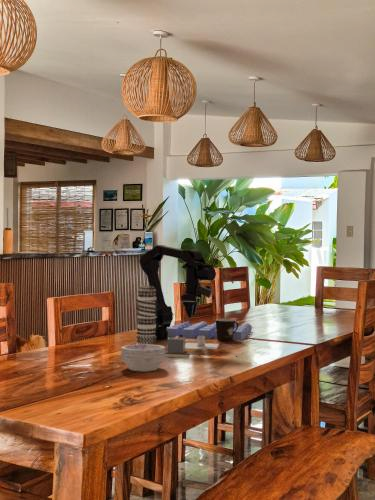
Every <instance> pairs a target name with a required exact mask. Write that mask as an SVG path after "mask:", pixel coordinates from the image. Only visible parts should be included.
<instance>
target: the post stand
mask: <svg viewBox="0 0 375 500" xmlns="http://www.w3.org/2000/svg"><path fill="white" fill-rule="evenodd" d="M196 338H197V339H196V342H185V349H191V350H192V349H198V350H218V347H219V346H220V343H210V342H209V343H206V339H205V336H197V337H196Z"/></svg>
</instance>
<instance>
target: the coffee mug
mask: <svg viewBox="0 0 375 500" xmlns="http://www.w3.org/2000/svg"><path fill="white" fill-rule="evenodd" d="M215 322H216V330H217V339H216V340H217V341H220V342H232V341H233V334H234V333H235V332H236V330H237V329H238V327H239V323H238V322H237V321H236V319H234V318H233V319H231V318H216V319H215ZM235 324H236V325H237V328H236V330H235V331H234V325H235Z"/></svg>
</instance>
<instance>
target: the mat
mask: <svg viewBox="0 0 375 500" xmlns="http://www.w3.org/2000/svg"><path fill="white" fill-rule="evenodd" d="M191 354H192V353H175V354H168V352H165V358H184V359H186V358H190V356H191Z"/></svg>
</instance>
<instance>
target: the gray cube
mask: <svg viewBox="0 0 375 500" xmlns="http://www.w3.org/2000/svg"><path fill="white" fill-rule="evenodd" d="M185 344H186V338H183V337H180V336H176V337H170V338H168V340H167V353H168V354H185V351H186V348H185Z"/></svg>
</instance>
